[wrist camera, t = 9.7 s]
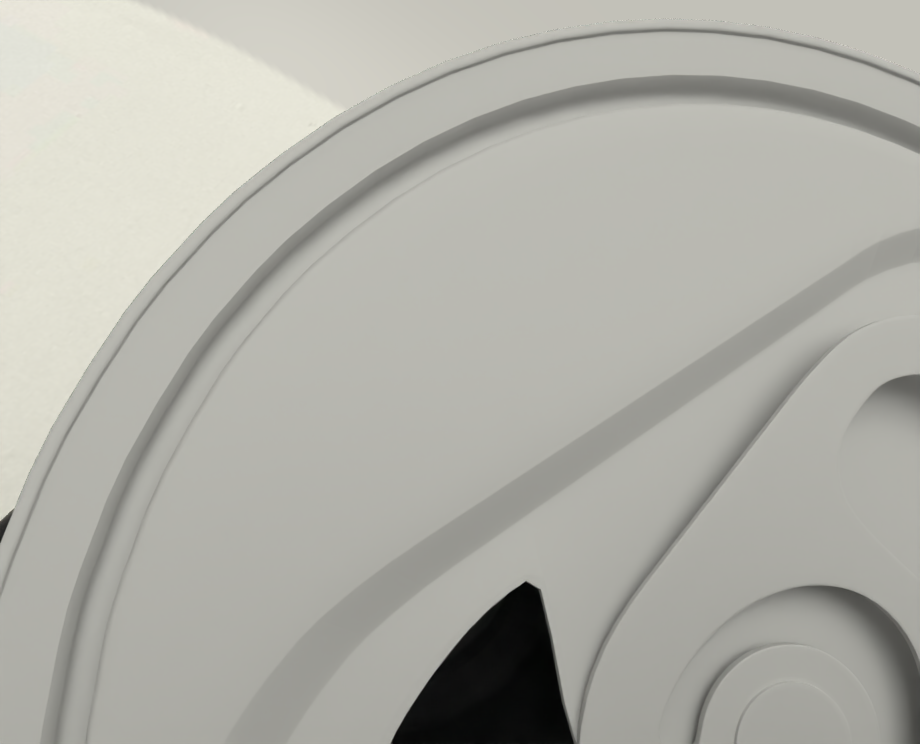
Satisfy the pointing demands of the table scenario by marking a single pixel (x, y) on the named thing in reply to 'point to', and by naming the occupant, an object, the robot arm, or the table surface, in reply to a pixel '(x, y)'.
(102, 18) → the table surface
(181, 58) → the table surface
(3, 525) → the robot arm
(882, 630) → the beverage can
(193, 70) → the table surface
